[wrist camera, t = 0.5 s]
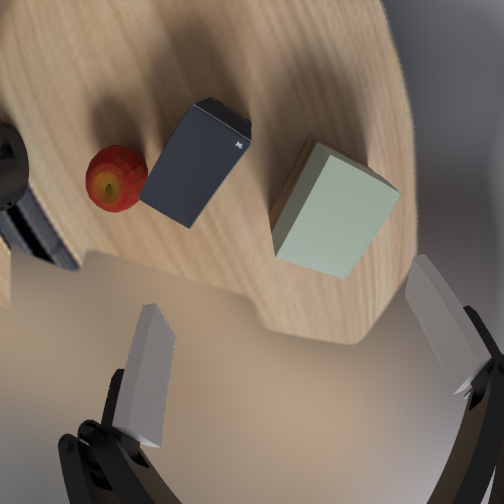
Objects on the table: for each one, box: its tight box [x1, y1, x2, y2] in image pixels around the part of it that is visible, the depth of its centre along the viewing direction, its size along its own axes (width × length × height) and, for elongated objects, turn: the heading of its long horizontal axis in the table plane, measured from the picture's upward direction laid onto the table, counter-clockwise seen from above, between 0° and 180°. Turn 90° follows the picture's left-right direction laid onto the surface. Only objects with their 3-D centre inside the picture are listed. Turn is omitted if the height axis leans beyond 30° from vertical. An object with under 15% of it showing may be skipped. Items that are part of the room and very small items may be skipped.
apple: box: [86, 145, 148, 213], centre depth 29 cm, size 8×8×8 cm
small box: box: [138, 97, 252, 229], centre depth 27 cm, size 11×6×10 cm, turn 144°
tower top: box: [272, 143, 401, 279], centre depth 29 cm, size 9×12×5 cm
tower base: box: [268, 135, 374, 233], centre depth 33 cm, size 9×12×5 cm
